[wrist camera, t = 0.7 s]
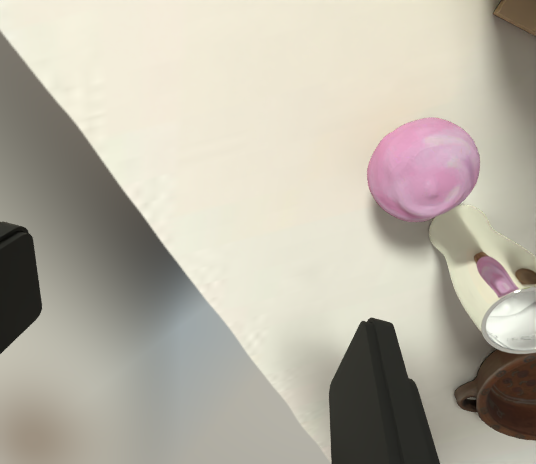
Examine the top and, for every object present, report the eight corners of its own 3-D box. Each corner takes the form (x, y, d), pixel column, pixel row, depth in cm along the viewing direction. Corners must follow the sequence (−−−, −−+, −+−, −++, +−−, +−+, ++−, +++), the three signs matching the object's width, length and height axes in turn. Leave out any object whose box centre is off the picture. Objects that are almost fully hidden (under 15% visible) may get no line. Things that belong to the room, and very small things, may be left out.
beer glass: (417, 252, 40) (466, 351, 27) (433, 198, 37) (496, 280, 24) (479, 258, 40) (560, 361, 27) (500, 202, 36) (604, 289, 23)
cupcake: (388, 207, 38) (410, 253, 29) (343, 146, 36) (352, 178, 27) (466, 157, 35) (517, 194, 26) (422, 87, 32) (462, 101, 23)
